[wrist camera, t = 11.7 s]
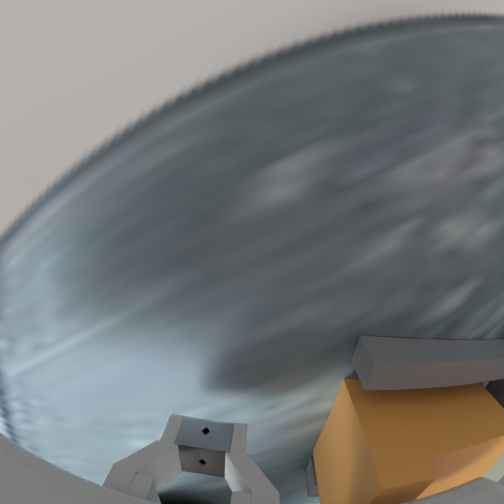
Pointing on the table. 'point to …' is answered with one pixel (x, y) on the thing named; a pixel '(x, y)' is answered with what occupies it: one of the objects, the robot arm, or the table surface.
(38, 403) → the table surface
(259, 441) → the table surface
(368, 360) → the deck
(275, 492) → the robot arm
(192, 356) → the table surface
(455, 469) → the orange lidded box
